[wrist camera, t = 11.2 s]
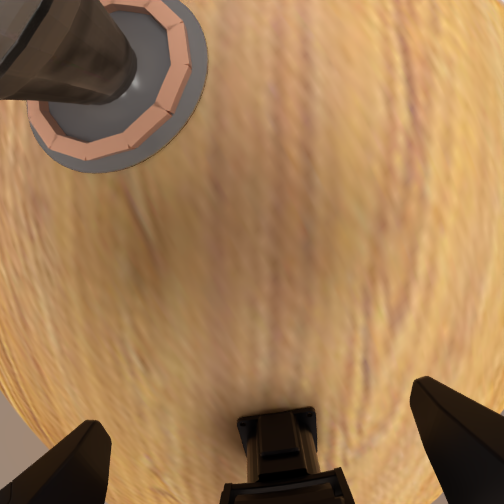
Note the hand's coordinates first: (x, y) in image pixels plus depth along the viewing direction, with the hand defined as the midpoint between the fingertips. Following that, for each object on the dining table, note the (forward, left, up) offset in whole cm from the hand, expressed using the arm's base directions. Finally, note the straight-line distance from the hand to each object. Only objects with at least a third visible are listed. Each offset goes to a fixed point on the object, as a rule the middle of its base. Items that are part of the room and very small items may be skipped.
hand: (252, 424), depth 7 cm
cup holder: (+14, +7, -13) cm, 20 cm away
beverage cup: (+14, +7, -13) cm, 20 cm away
